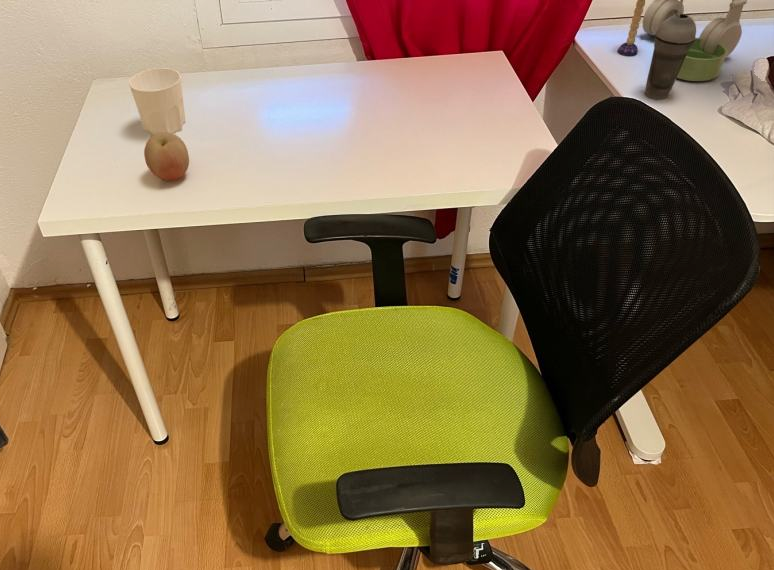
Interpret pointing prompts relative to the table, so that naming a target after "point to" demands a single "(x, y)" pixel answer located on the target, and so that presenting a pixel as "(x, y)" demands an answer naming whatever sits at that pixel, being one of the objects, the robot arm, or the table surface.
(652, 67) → the beverage cup
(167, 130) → the cup
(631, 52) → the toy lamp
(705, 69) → the bowl
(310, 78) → the table surface
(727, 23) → the headphones
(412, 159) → the table surface
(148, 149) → the fruit
